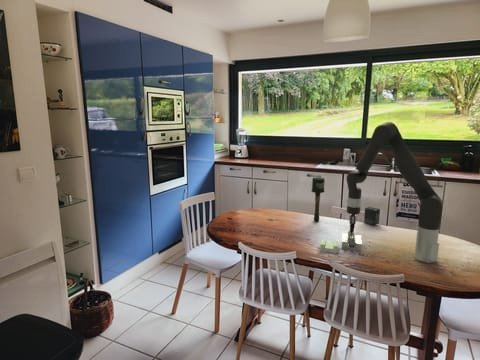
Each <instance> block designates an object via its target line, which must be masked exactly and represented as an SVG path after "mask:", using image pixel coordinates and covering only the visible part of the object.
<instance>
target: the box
mask: <svg viewBox="0 0 480 360" xmlns="http://www.w3.org/2000/svg"><path fill="white" fill-rule="evenodd" d="M380 215H381V209H380V208H378V207H377V208H376V207H373V206H366V207H365V208H364V217H363V218H364V219H363V223H364V224H367V225H371V226H378V225H379V224H380Z"/></svg>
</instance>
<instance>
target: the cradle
mask: <svg viewBox="0 0 480 360" xmlns="http://www.w3.org/2000/svg"><path fill="white" fill-rule="evenodd" d="M339 242H340V241H339V240H337V239H336V240H335V239H334V241H333V242H327V238H321V241H320V249H319V251H320V252H325V253H333V254H338V253H339V246H340V245H339Z"/></svg>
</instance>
